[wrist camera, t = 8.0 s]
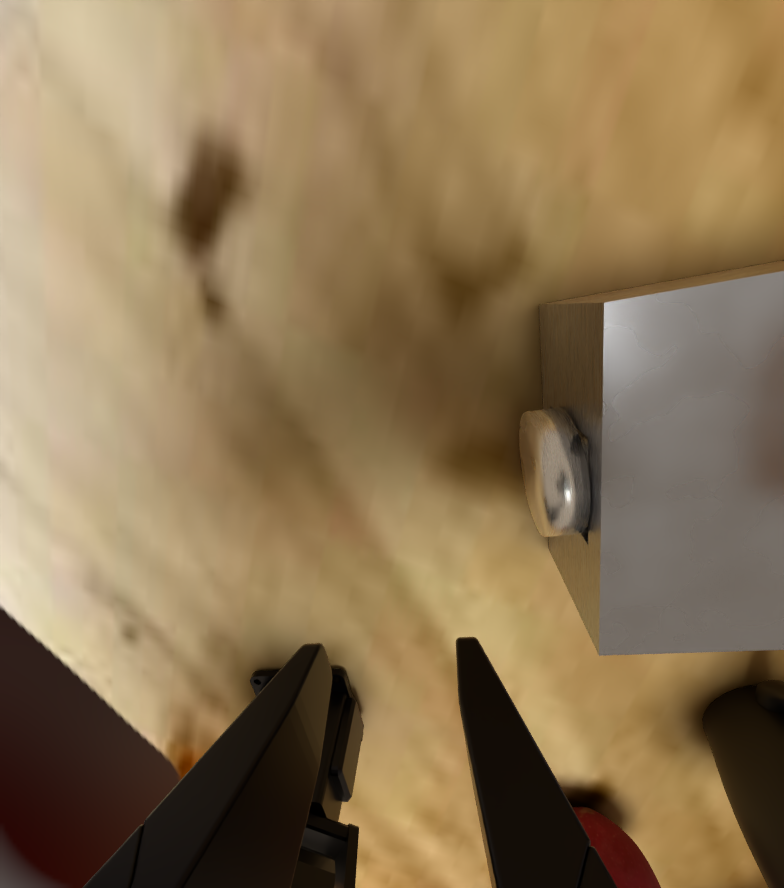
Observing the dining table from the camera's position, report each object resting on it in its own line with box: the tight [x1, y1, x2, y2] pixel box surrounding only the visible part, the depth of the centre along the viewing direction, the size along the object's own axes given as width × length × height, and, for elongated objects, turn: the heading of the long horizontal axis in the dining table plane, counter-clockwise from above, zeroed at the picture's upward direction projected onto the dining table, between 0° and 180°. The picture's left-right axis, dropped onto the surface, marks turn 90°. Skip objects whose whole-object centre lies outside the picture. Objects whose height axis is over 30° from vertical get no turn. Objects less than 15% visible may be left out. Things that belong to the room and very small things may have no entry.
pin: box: [519, 407, 591, 537], centre depth 13 cm, size 15×5×5 cm, turn 100°
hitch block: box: [539, 260, 784, 655], centre depth 13 cm, size 11×12×7 cm
